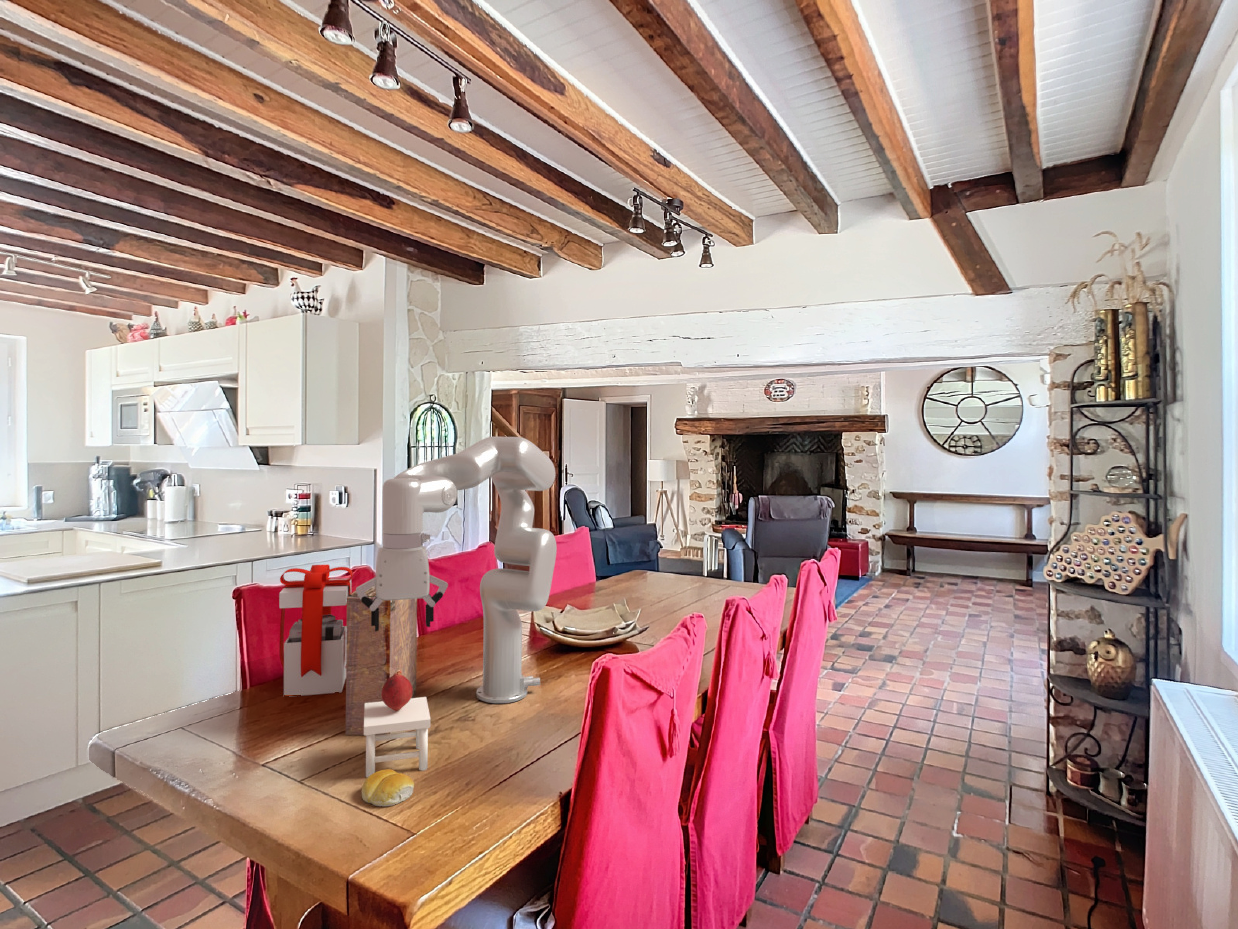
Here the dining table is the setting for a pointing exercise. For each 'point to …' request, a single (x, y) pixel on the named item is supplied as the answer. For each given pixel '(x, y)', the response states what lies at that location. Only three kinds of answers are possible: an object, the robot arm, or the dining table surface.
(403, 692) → the onion
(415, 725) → the stool
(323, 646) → the gift wrap
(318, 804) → the dining table surface
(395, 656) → the book
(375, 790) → the bread roll
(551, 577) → the robot arm
